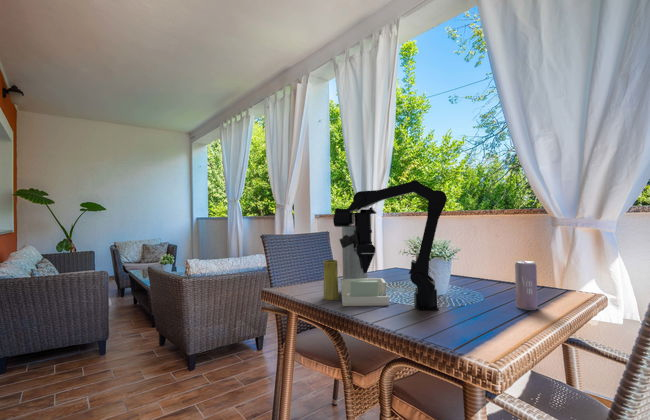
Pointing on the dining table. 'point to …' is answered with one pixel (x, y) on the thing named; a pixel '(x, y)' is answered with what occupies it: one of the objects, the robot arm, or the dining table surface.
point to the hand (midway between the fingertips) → (363, 270)
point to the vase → (330, 280)
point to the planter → (351, 259)
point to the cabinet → (364, 300)
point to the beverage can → (526, 285)
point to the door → (364, 288)
